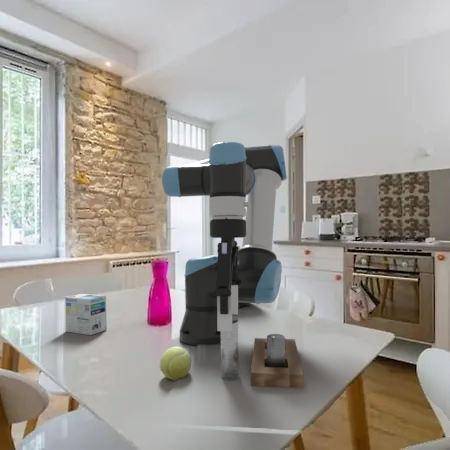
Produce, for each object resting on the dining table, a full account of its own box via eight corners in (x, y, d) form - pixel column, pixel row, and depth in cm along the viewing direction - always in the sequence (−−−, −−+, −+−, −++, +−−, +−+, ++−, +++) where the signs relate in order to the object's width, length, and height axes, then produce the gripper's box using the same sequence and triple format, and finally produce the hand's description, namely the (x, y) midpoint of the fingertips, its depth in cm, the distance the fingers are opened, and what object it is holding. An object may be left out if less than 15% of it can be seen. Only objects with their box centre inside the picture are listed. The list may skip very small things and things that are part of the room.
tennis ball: (194, 347, 75) (180, 338, 81) (165, 358, 72) (152, 348, 77) (198, 376, 76) (184, 366, 81) (169, 389, 72) (156, 377, 78)
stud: (219, 382, 74) (219, 317, 74) (222, 374, 77) (221, 313, 77) (238, 383, 73) (237, 318, 73) (239, 375, 77) (238, 313, 77)
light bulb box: (107, 330, 112) (107, 295, 112) (91, 336, 106) (90, 299, 106) (81, 326, 117) (81, 292, 117) (64, 332, 111) (64, 296, 111)
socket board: (250, 388, 71) (250, 372, 71) (254, 350, 92) (254, 338, 92) (303, 390, 69) (303, 374, 69) (294, 351, 91) (294, 339, 91)
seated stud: (267, 378, 74) (266, 339, 74) (267, 371, 78) (267, 333, 78) (285, 379, 74) (284, 339, 74) (284, 372, 77) (284, 334, 77)
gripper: (241, 215, 62) (242, 340, 62) (249, 220, 87) (250, 309, 87) (198, 216, 63) (199, 339, 63) (218, 220, 88) (218, 308, 88)
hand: (228, 322), depth 75 cm, fingers open, 13 cm apart
